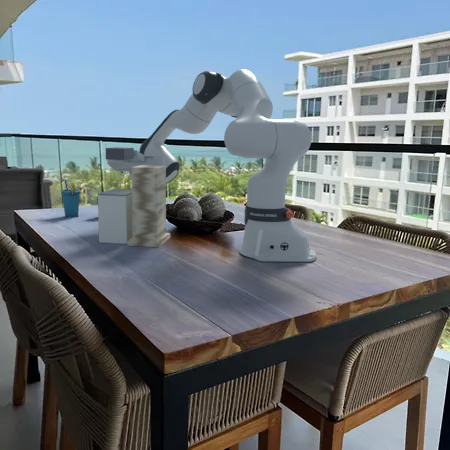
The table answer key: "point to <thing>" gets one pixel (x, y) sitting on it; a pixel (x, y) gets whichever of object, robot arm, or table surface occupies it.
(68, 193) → the cup
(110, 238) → the block
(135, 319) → the table surface
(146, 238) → the marble stone pillar
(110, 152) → the dark grey rectangular block
